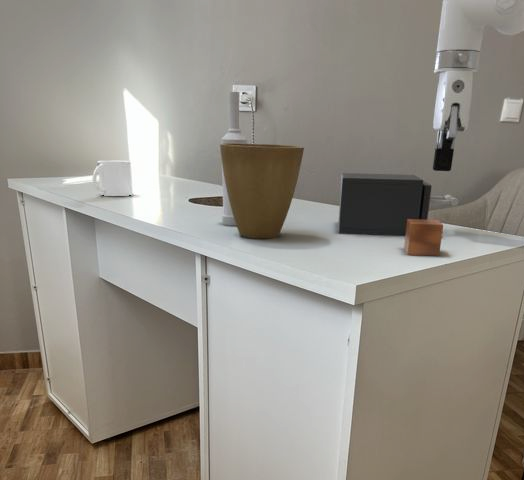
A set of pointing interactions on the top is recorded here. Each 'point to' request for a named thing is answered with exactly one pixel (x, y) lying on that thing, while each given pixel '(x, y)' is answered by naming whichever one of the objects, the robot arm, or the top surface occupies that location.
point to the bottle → (231, 137)
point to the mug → (113, 178)
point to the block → (423, 237)
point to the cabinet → (378, 203)
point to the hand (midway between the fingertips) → (441, 170)
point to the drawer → (432, 200)
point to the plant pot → (260, 185)
